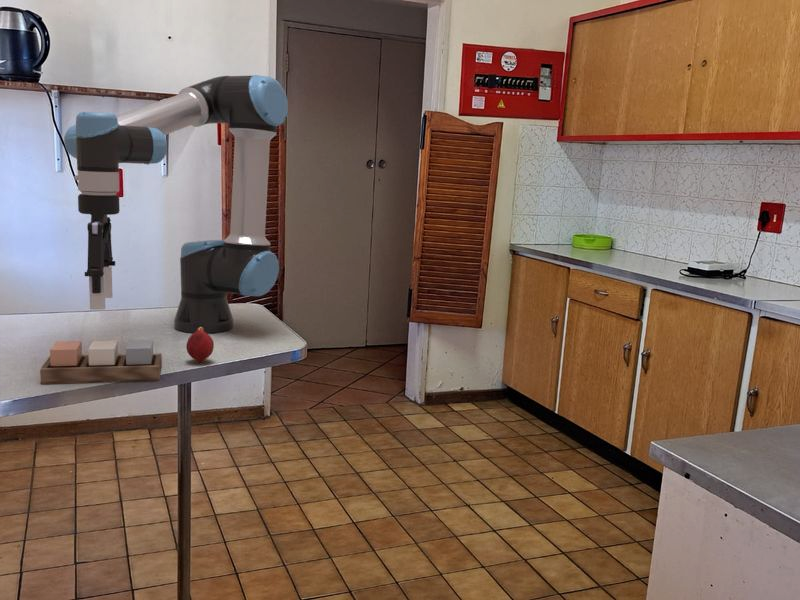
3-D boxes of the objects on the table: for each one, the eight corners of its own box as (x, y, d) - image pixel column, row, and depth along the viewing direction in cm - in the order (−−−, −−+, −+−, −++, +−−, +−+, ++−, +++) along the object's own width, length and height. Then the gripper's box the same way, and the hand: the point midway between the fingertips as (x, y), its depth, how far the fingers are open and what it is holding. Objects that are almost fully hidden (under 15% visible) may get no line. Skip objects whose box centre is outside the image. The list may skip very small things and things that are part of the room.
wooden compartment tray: (161, 367, 159) (161, 353, 159) (159, 380, 150) (159, 366, 149) (50, 369, 153) (50, 355, 153) (40, 384, 144) (40, 369, 143)
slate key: (153, 355, 157) (153, 340, 156) (151, 364, 150) (150, 348, 150) (129, 355, 155) (128, 340, 155) (126, 364, 149) (125, 348, 148)
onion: (206, 367, 161) (206, 331, 159) (181, 364, 162) (181, 329, 160) (217, 360, 166) (217, 325, 165) (193, 357, 167) (193, 323, 166)
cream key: (118, 355, 155) (117, 340, 154) (114, 364, 148) (114, 348, 148) (93, 356, 154) (93, 340, 153) (88, 365, 147) (88, 349, 147)
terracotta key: (82, 356, 153) (81, 340, 152) (76, 365, 147) (76, 349, 146) (56, 356, 152) (56, 341, 151) (50, 366, 145) (49, 350, 145)
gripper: (86, 189, 155) (90, 292, 159) (67, 196, 133) (71, 315, 137) (125, 190, 157) (127, 292, 161) (112, 197, 134) (115, 315, 139)
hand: (101, 303), depth 149 cm, fingers open, 11 cm apart
